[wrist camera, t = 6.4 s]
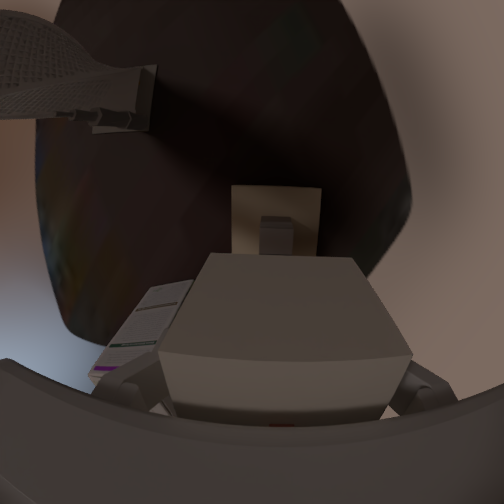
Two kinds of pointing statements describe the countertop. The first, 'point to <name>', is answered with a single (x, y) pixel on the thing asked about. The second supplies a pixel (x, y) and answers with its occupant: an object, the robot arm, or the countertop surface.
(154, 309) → the syrup box
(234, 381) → the knob
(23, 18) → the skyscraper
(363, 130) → the countertop surface
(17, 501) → the robot arm
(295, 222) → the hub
